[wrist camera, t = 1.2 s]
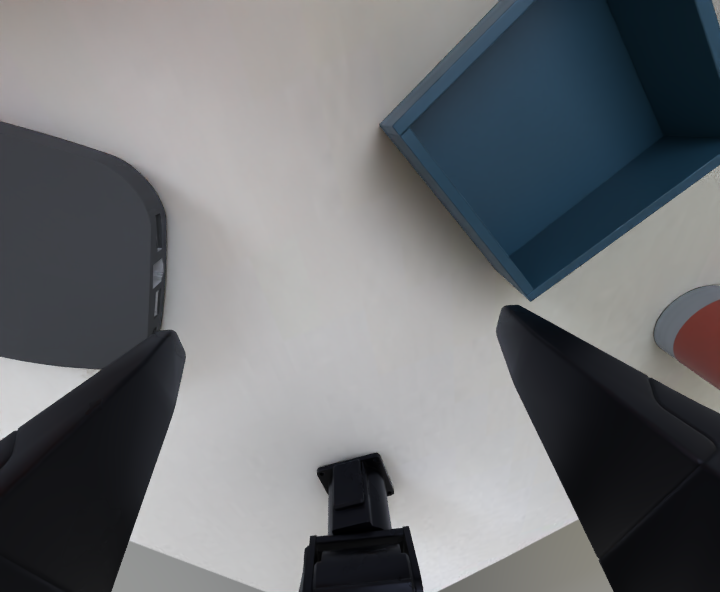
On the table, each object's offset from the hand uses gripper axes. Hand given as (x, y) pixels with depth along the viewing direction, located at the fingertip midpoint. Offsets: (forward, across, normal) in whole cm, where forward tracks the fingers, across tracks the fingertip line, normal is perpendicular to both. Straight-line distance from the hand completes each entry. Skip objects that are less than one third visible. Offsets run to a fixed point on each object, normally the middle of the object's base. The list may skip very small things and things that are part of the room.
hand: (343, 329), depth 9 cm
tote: (+15, -12, -2) cm, 19 cm away
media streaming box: (+14, +19, +4) cm, 24 cm away
